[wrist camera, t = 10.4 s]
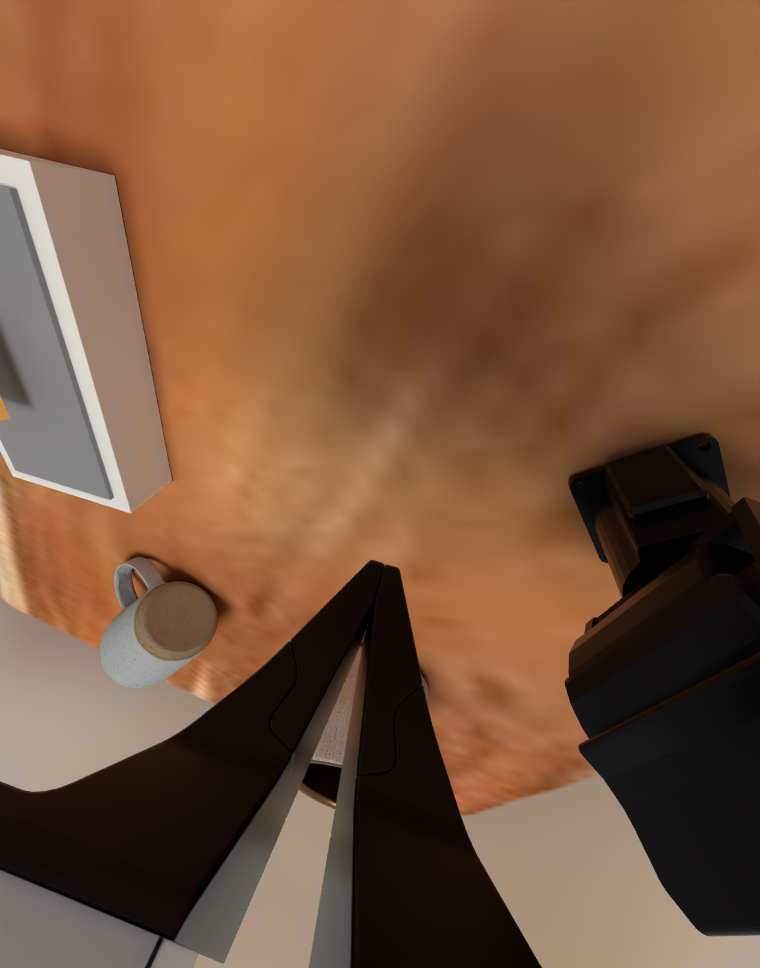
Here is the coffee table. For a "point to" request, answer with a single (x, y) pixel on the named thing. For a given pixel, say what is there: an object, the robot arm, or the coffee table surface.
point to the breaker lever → (3, 411)
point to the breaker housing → (73, 339)
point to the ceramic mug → (155, 627)
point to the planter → (334, 745)
